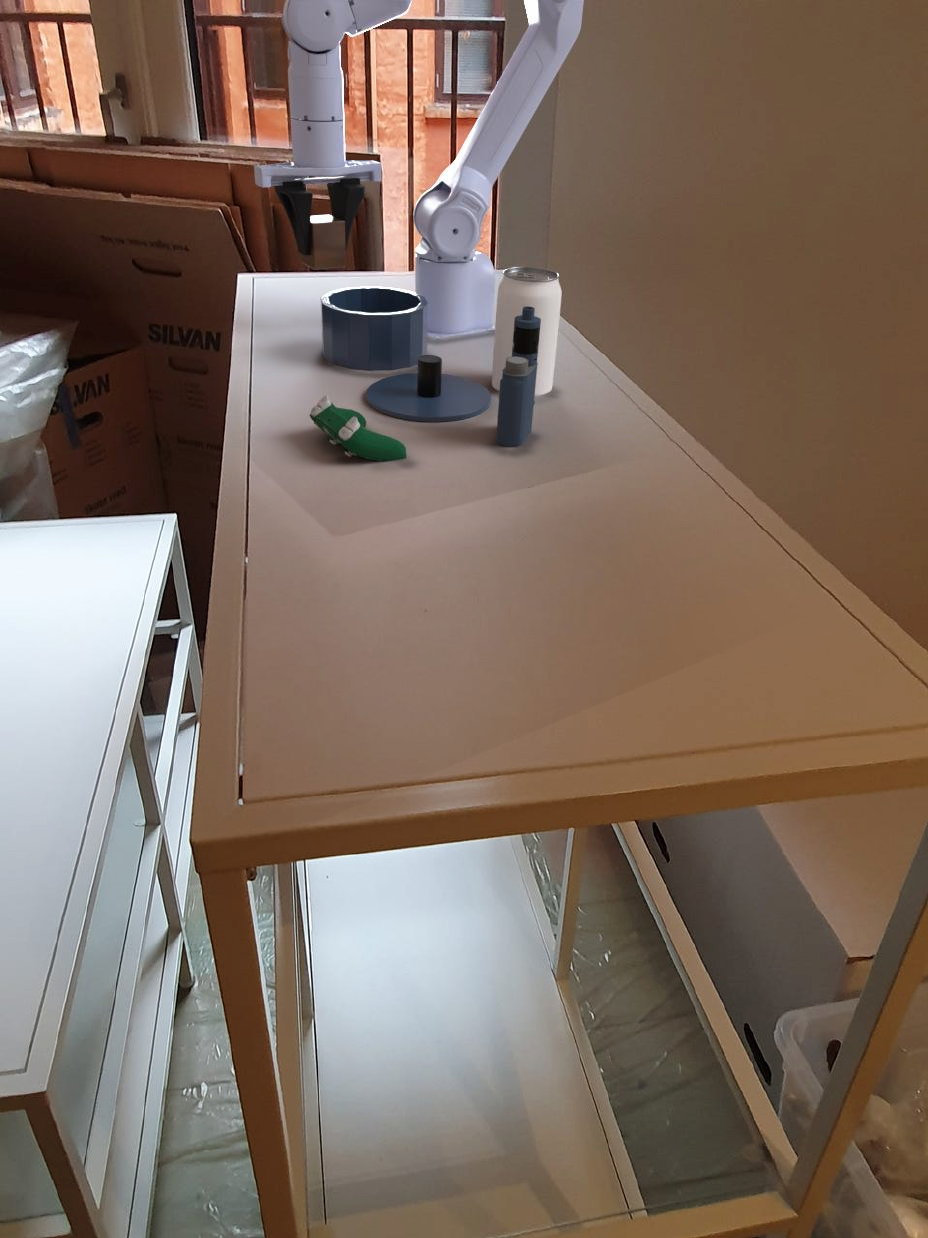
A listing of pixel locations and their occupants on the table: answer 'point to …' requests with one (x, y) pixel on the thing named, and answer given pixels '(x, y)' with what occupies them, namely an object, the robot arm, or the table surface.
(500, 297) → the can
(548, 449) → the table surface
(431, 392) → the lid
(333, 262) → the block
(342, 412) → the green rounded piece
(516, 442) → the vaping device
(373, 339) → the tin
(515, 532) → the table surface
